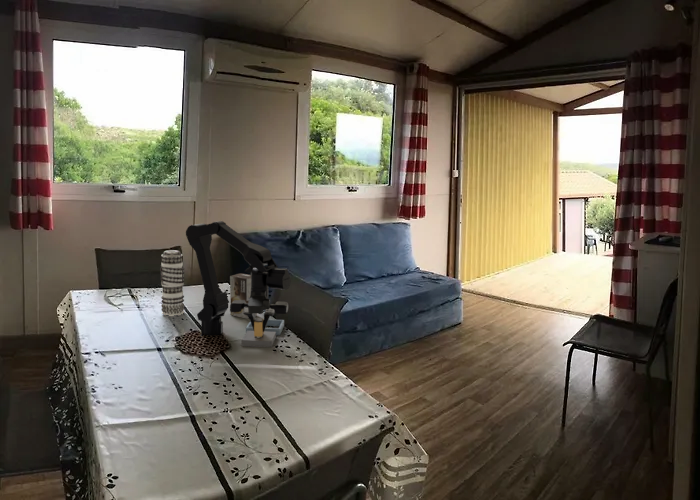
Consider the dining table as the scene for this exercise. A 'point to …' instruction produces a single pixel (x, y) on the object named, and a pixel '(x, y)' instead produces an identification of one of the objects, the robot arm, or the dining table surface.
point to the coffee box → (240, 291)
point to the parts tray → (270, 323)
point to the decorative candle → (172, 283)
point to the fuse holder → (258, 339)
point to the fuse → (258, 327)
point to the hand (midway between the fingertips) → (259, 331)
